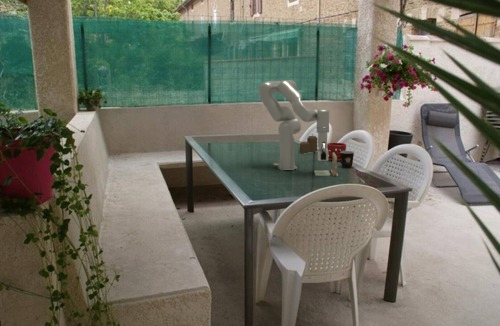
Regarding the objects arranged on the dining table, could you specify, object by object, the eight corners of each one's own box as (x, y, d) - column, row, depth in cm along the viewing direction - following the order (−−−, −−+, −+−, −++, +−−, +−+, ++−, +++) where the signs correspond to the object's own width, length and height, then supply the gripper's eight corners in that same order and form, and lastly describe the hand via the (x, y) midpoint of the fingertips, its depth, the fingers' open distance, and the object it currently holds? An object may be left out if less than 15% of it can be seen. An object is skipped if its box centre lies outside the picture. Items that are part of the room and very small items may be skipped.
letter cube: (318, 160, 260) (318, 150, 258) (317, 158, 265) (317, 149, 264) (329, 160, 259) (329, 150, 258) (328, 158, 265) (328, 148, 264)
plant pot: (346, 162, 295) (346, 145, 292) (326, 161, 297) (327, 145, 295) (345, 158, 307) (346, 142, 305) (327, 158, 310) (327, 141, 307)
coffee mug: (355, 166, 282) (355, 151, 280) (351, 168, 275) (351, 153, 272) (338, 164, 288) (338, 150, 286) (334, 167, 280) (334, 152, 278)
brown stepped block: (316, 150, 339) (316, 132, 335) (318, 154, 325) (318, 134, 322) (299, 150, 340) (299, 132, 336) (300, 154, 326) (300, 135, 323)
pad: (315, 175, 259) (315, 174, 259) (314, 171, 270) (314, 170, 270) (330, 175, 259) (330, 174, 259) (328, 171, 269) (328, 170, 269)
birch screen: (333, 176, 258) (333, 156, 255) (330, 171, 270) (331, 152, 268) (338, 176, 257) (338, 156, 255) (335, 171, 270) (335, 152, 267)
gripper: (315, 128, 267) (315, 156, 271) (317, 131, 250) (317, 161, 254) (327, 127, 267) (327, 155, 270) (330, 131, 250) (330, 161, 253)
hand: (322, 158), depth 262 cm, fingers closed on letter cube, 6 cm apart
